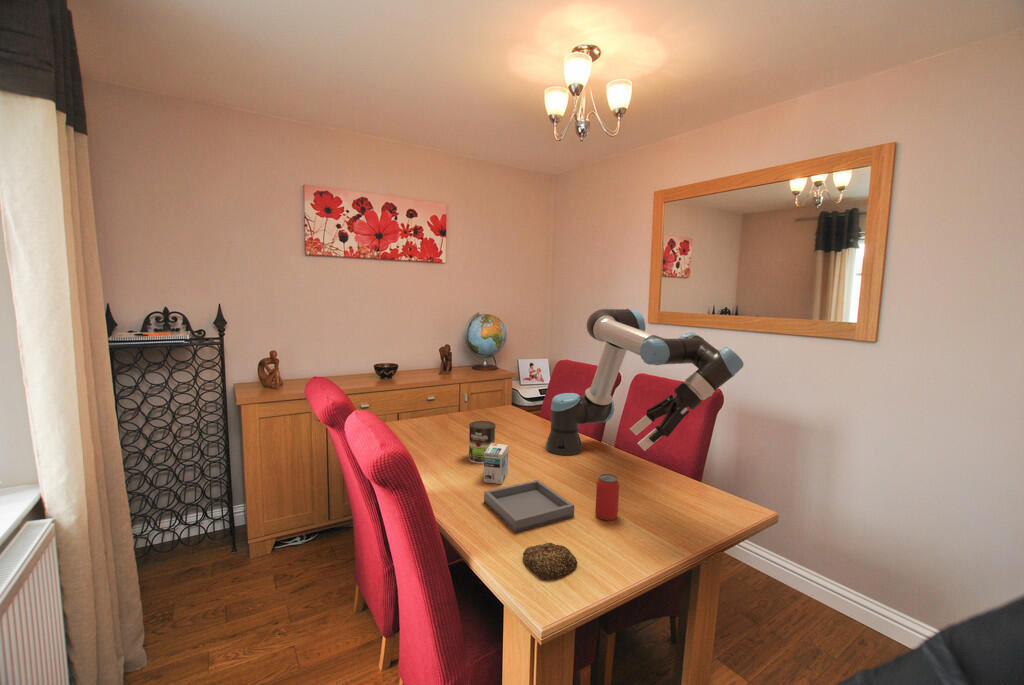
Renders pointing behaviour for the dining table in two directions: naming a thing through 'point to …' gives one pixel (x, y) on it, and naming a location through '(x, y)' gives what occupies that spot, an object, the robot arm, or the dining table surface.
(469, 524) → the dining table surface
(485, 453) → the light bulb box
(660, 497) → the dining table surface
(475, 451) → the coffee can
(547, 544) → the bread roll
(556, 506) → the tray
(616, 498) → the beer can
